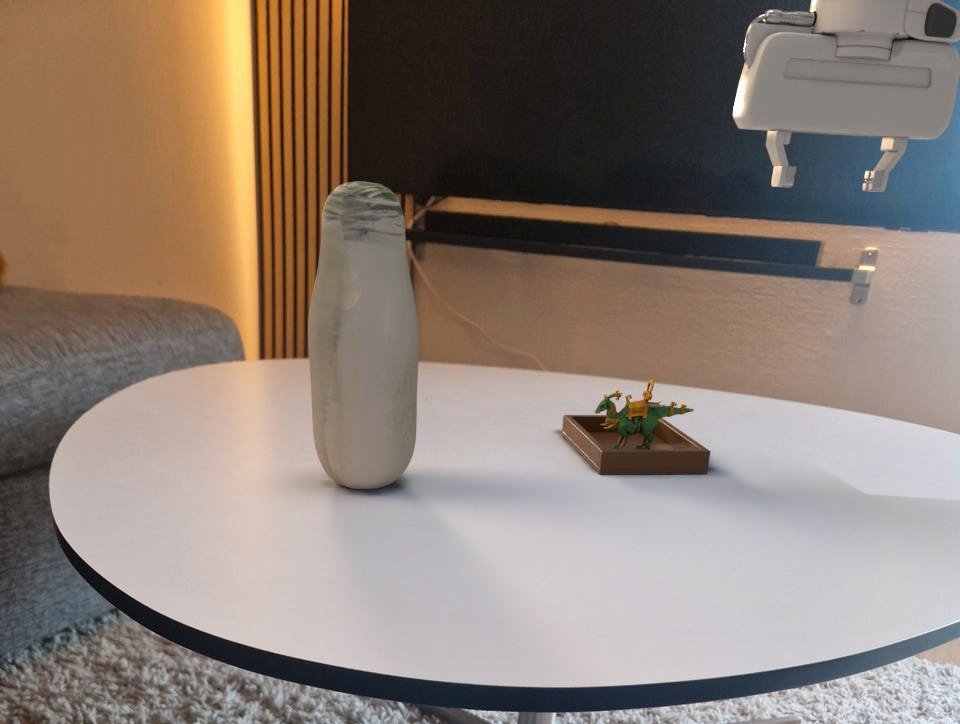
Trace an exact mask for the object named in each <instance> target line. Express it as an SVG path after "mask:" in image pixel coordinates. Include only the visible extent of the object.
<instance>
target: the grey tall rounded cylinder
mask: <svg viewBox="0 0 960 724" xmlns="http://www.w3.org/2000/svg"><path fill="white" fill-rule="evenodd" d="M406 245H407V242H406V223H405V217H404V212H403V208H402V206H401V203H400V201H399V199H398V197H397V196H396V194H395V192H393V191H392V190H391V189H390V188H388V187H387V186H384V185H383V184H381V183H375V182H369V181H360V180H357V181H350V182H344V183H342V184H340V185H338V186H337V187H335V188H333V190H331V192H330V193H329V195H328V196H327V198H326V200H325V202H324V205H323V208H322V214H321V241H320V248H319V257H318V264H317V265H318V266H317V271H316V276H315V281H314V285H313V290H312V294H311V299H310V300H311V301H310V305H309V312H308V320H307V323H308V324H307V338H308V340H307V341H308V362H309V364H308V365H309V376H310V378H309V379H310V395H311V397H310V398H311V415H312V419H311V420H312V432H313V433H312V435H313V442H314V447H315V451H316V454H317V458H318V461H319V463H320V465H321V467H322V469H323V471H324V472H325V473H326V475H327V476H328V477H329V478H330V479H331V480H332V481H334V482H335V483H336V484H338V485H340V486H342V487H345V488H348V489H353V490H376V489H381V488H385V487H387V486H390V485H391V484H393V483H395V482H396V481H397V480H398V479H400V478H401V476H402V475H403V474H404V473H405V472H406V470H407V469H408V468H409V465H410V463H411V461H412V458H413V455H414V451H415V448H416V442H417V425H418V423H417V422H418V419H417V418H418V417H417V416H418V415H417V414H418V379H419V349H420V348H419V347H420V345H419V344H420V342H419V341H420V340H419V339H420V336H419V335H420V334H419V333H420V332H419V318H418V311H417V305H416V301H415V295H414V289H413V284H412V279H411V275H410V270H409V264H408V255H407V254H408V253H407V246H406Z"/></svg>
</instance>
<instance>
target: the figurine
mask: <svg viewBox="0 0 960 724" xmlns="http://www.w3.org/2000/svg"><path fill="white" fill-rule="evenodd" d="M654 386H655V382H654V381H653V379H650V380H649V381H648V382H647V384H646V390H644V391H642V397H643V398H642V399H639V400H634V401H630V400H631V399H632V398H633V397H632V394H630V393H629V394H628V395H625V401H626V402H625V405H624V407H623V408H621V410H620V411H617V407H616V404H615V402H614V401H612V400H611V399H613V398H615V401H619V400H620V398H621V397H622V392H620V390H619V389H617V390H615V392H612V394H609V395H608V394H607V393H604V395H603V396H604V398H603V400H601V401H600V402H599V403H598V406H597V407H596V409H595V411H594V414H595V415H599V414H601V412H605V411H606V414H605V415H606V420H605V424H600V425H602V426H608V427H603V428H605V429H612V430H614V431H616V432H619V433H620V435H621V437H620V438H619V440H618V444H617V445H613V448H616V447H619V445H620V444H621V443H622V444H621V445H622V446H621V448H619V449H615V450H622V449H623V447H624V446H625V445H626V443H627V442H628V441H627V440H628V438H629V436H628V435H633V434H637V433H640V434H642V435H643V436H644V440H643V444H642V445H636V447H637V448H640V447H644V446H645V447H644V448H640V450H651V449H650V445H651V444H652V442H653V440H654V438H653V437H652V436H651V433H652V431H653V429H654V428H655V426H656V424H657V422H658V420H659V419H661V418H663V419H664V418H666V417H667V418H670V417H671V418H672V417H673V416H677V415H681V416H682V415H684V414H687V413H691V412H694V411H695V409H694V408H690V407H688V405H687V404H683V403H682V404H680V407H677V405H678V403H677V402H675V401H671V402H670V405H667V403H666V404H665V403H664V404H661V403H662V402H663V400H662V401H657V402H654V401H651V400H652V399H653V398H654V397H653V390H654ZM627 434H628V435H627ZM623 439H624V441H622V440H623ZM647 439H648V442H647V443H646V441H647Z"/></svg>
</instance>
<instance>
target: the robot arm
mask: <svg viewBox="0 0 960 724" xmlns="http://www.w3.org/2000/svg"><path fill="white" fill-rule="evenodd" d="M761 21H763V23H762V22H761ZM959 41H960V10H959V9H957V8H955V7H953V6H951V5H950V4H948V3H946V2H944V1H943V0H810V6H809V11H800V10H795V11H794V10H793V11H785V10H781V9H778V8H777V9H776V8H773V9H766V11H764V14H759V15H758V16H757V17H755V18H754V19H753V20H752V21H751V22H750V24H749V26H748V27H747V30H746V33H745V40H744V46H743V58H744V64H743V68H742V70H741V74H740V78H739V81H738V85H737V90H736V95H735V99H734V105H733V110H732V118H733V120H734V123H735V125H736V126H737V129H739V130H747V131H749V130H750V131H766V132H767V134H766V141H765V147H766V151H767V153H768V157H769V159H770V162H771V164H772V166H773V169H772V175H771V181H770V182H771V183H770V185H771V187H772V188H792V187H793V186H794V184H795V178H794V177H795V175H796V173H797V165H796V166H794V165H790V164H789V161H788V157H787V153H786V149H785V146H787V145H789V144H791V138H792V134H793V133H800V134H813V135H814V134H815V135H832V136H848V137H850V136H851V137H865V138H866V137H867V138H881V144H880V149H879V150H880V151H881V152H884V154H883V155H882V156H881V158H880V160H879V161H878V163H877V164H876V166H875V167H874V168H873V170H865V173H864V176H863V179H864V182H863V183H862V191H863V192H870V193H871V192H872V193H884V192H885V191H886V188H887V185H888V182H889V181H888V180H889V177H890V172H892V170H893V169H894V168H895V166H897V164H898V162H899V161H900V159H901V158H902V157H903V155H904V154H905V153H906V150H907V147H908V140H914V141H915V140H917V141H923V140H925V141H929V140H937V139H939V138H940V137H941V136H942V134H943V133H945V131H946V130H947V129H948V127H949V125H950V123H951V120H952V116H953V112H954V108H955V104H956V97H957V93H958V86H959V81H960V54H959V52H958V49H957V48H956V47H955V46H954V45H952V44H953V43H957V42H959Z"/></svg>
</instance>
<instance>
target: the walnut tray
mask: <svg viewBox="0 0 960 724" xmlns="http://www.w3.org/2000/svg"><path fill="white" fill-rule="evenodd" d="M605 420H606V414H563V416H562V428H561V430H562V431H561V436H562V437H563V439H565V440H566V441H567V442H568V443H569V444H570V446H572V448H573V449H574V450H575V451H576V452H578V454H579V455H580V456H581V457H582V458H583V459H584V460H585V461H586V462H587V463H588V464H589V465H590V466H591V467H592V468H593V470H594V471H596V472H597V473H598V474H599V475H707V474H708V471H709V465H710V464H709V463H710V457H711V450H710V449H708V448H706V447H705V446H703V445H702V444H701V443H699V442H698V441H696V440H695V439H694V438H692V437H690V435H687V434H686V433H685V432H683V431H682V430H680V429H679V428H678V427H676V426H675V425H673V424H672V423H671V422H669V421H667V420H666V419H664V417H663V418H661V419H659V420H658V422H657V424H656V426H655V428H654V429H653V431H652V433H651V436H652V437H653V438H654V440H653V442H652V444H651V445H650V449H651V450H640V448H644V447H645V446H644V447H640V448H637V447H636V445H642V444H643V440H644V436H643V435H642V434H640V433H637V434H633V435H628V434H627V435H628V436H629V438H628V440H627V441H628V442H627V443H626V445H625V446H624V447H623V449H622V450H615V449H619V448H621V446H622V445H621V444H622V443H621V444H620V445H619V447H616V448H613V445H617V444H618V440H619V438H620V437H621V435H620V433H619V432H616V431H614V430H612V429H605V428H603V427H608V426H602V425H600V424H605ZM622 441H624V439H623V440H622ZM647 442H648V439H647V441H646V443H647Z"/></svg>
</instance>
